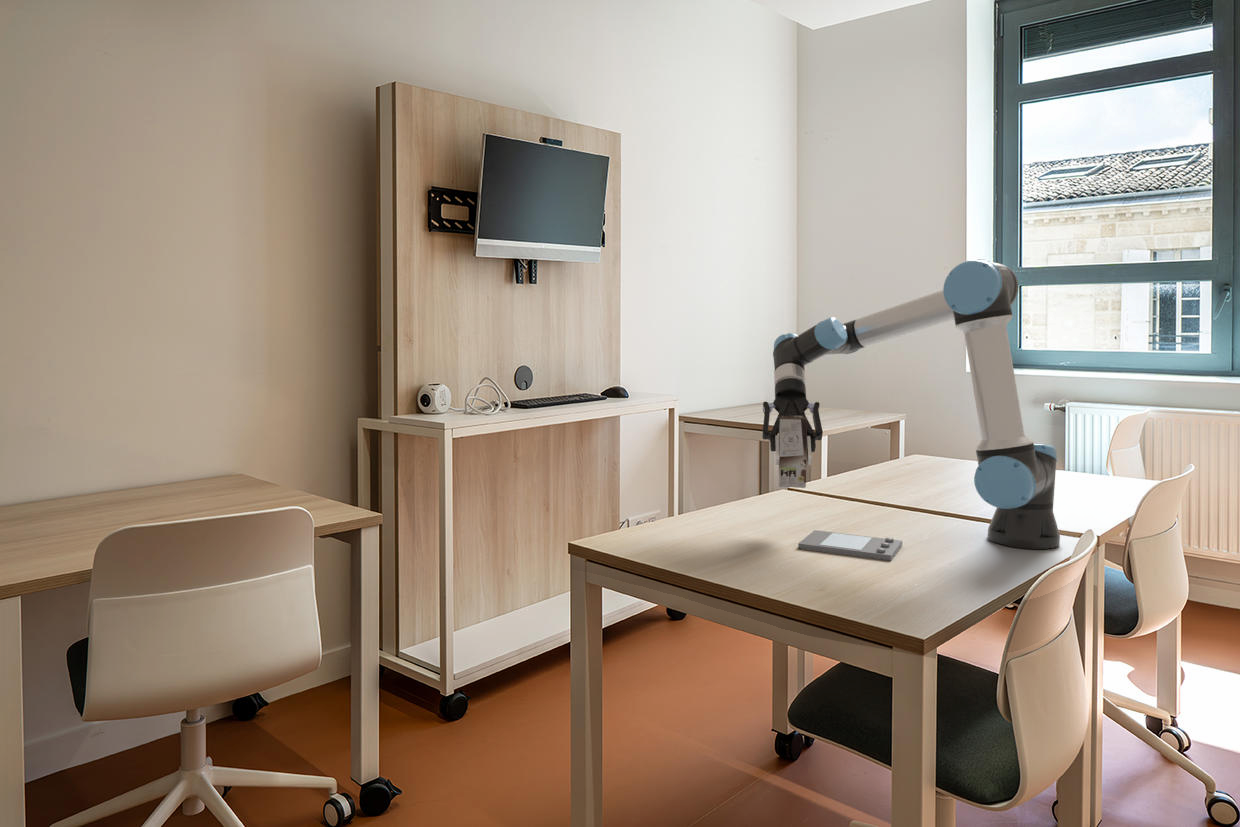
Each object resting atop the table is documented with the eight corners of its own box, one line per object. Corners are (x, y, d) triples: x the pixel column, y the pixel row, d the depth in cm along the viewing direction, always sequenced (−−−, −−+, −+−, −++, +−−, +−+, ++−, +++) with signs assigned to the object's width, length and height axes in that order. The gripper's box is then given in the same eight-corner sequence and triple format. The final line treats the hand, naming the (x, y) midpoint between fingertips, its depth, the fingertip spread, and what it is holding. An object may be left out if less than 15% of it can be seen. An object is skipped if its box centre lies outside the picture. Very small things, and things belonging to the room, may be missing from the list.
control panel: (902, 545, 194) (902, 538, 193) (890, 560, 181) (891, 552, 181) (814, 535, 203) (814, 527, 203) (798, 548, 190) (798, 540, 190)
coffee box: (806, 488, 197) (807, 418, 196) (778, 487, 198) (778, 418, 197) (805, 481, 206) (806, 414, 204) (778, 480, 207) (779, 414, 206)
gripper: (828, 396, 214) (835, 471, 200) (749, 396, 217) (750, 470, 202) (831, 376, 208) (838, 452, 194) (750, 376, 211) (751, 451, 196)
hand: (793, 461), depth 198 cm, fingers closed on coffee box, 7 cm apart
